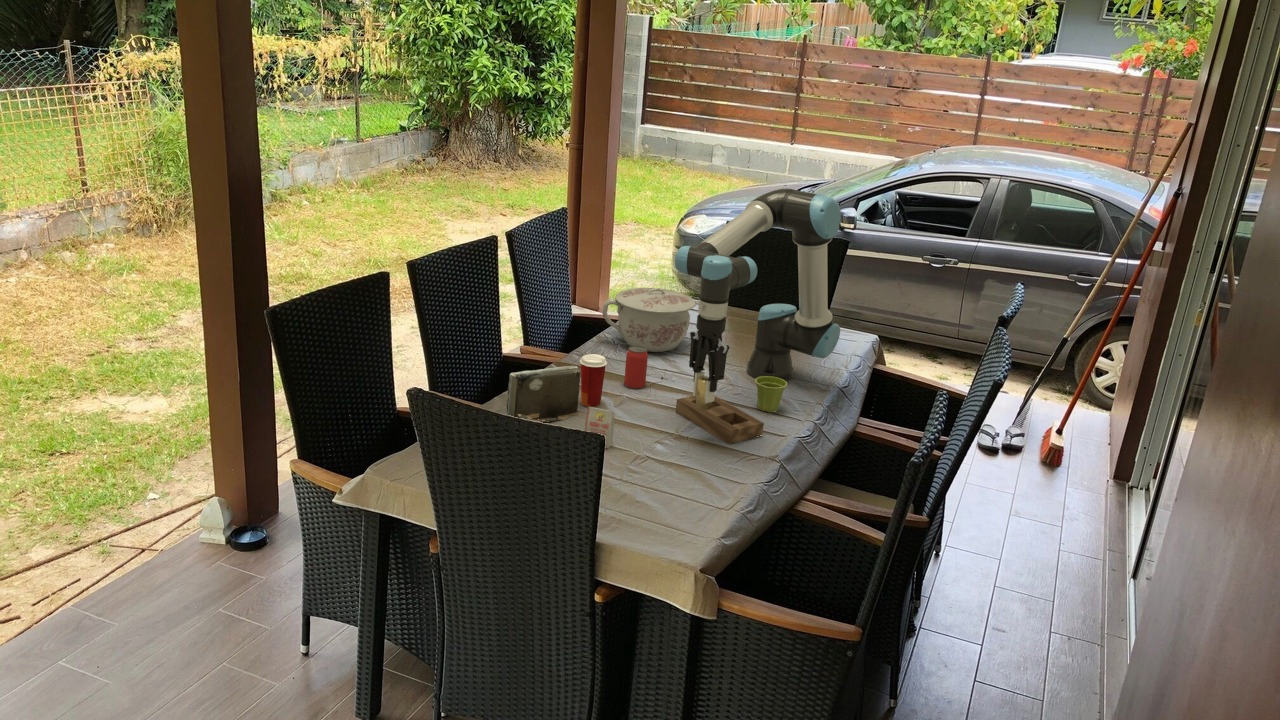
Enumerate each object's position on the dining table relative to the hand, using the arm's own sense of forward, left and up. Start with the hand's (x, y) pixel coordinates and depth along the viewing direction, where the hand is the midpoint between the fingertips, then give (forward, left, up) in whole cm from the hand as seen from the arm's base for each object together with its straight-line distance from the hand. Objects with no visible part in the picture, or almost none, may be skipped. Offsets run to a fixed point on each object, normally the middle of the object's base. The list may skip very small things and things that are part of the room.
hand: (703, 398), depth 260 cm
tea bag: (+26, -10, -12) cm, 31 cm away
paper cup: (+13, -34, -12) cm, 38 cm away
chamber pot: (-33, -68, -12) cm, 76 cm away
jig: (-12, -6, -12) cm, 18 cm away
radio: (+31, -32, -13) cm, 46 cm away
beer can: (-7, -40, -12) cm, 42 cm away
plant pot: (-33, -8, -12) cm, 36 cm away
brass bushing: (0, 0, -3) cm, 3 cm away
